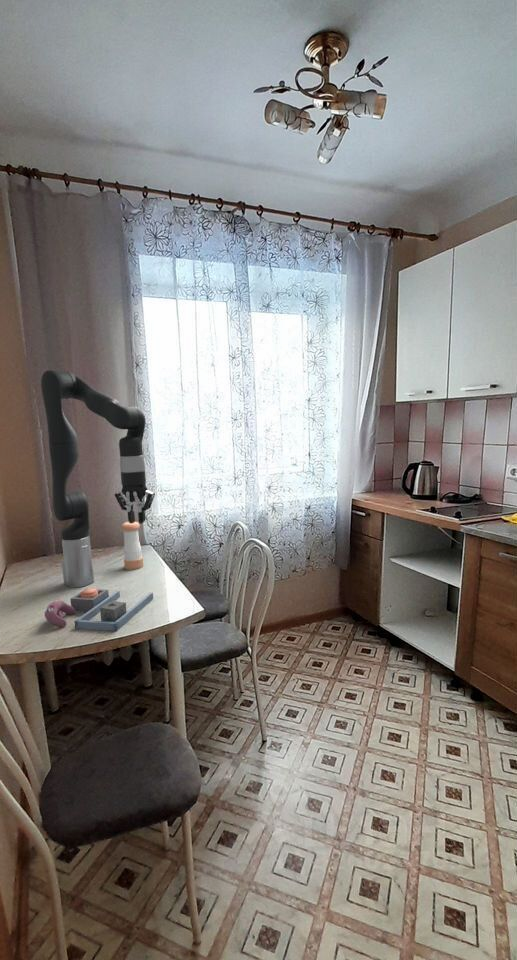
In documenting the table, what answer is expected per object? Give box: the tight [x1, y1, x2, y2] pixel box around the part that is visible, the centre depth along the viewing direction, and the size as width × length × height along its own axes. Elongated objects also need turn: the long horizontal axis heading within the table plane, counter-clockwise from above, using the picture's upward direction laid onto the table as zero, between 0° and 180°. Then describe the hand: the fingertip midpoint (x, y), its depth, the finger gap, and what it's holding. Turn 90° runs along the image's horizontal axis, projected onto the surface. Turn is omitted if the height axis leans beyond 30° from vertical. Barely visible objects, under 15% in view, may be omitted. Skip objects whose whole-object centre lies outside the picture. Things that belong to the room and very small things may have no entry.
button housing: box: [70, 588, 110, 613], centre depth 135 cm, size 8×8×4 cm
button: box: [80, 587, 98, 598], centre depth 135 cm, size 5×5×3 cm
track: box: [74, 590, 154, 632], centre depth 130 cm, size 13×22×2 cm, turn 167°
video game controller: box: [44, 599, 76, 628], centre depth 126 cm, size 10×5×7 cm, turn 7°
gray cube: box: [99, 600, 128, 622], centre depth 124 cm, size 5×5×5 cm
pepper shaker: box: [120, 521, 144, 571], centre depth 171 cm, size 7×7×19 cm
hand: (137, 522), depth 139 cm, fingers open, 2 cm apart
